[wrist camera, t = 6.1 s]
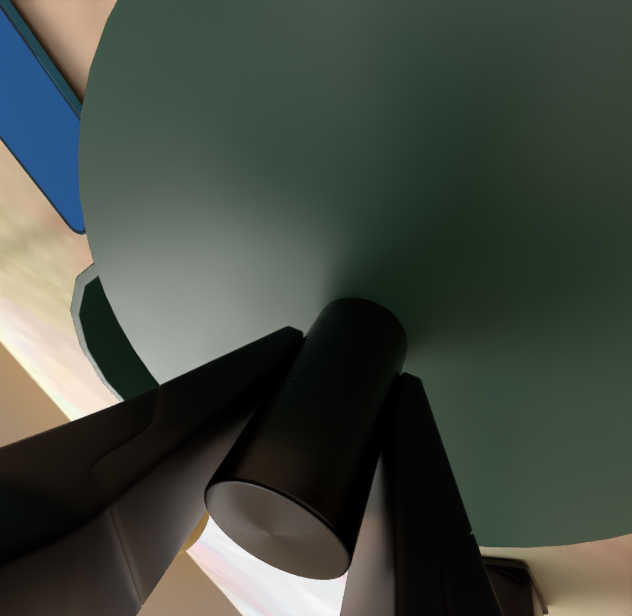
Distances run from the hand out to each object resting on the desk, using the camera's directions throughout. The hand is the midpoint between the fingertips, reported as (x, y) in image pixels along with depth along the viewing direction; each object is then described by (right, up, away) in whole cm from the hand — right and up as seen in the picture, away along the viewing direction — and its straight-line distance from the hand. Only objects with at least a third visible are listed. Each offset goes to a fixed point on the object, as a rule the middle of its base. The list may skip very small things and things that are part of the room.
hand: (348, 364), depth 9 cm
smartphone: (-18, +14, +14) cm, 26 cm away
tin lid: (+1, +1, +1) cm, 2 cm away
